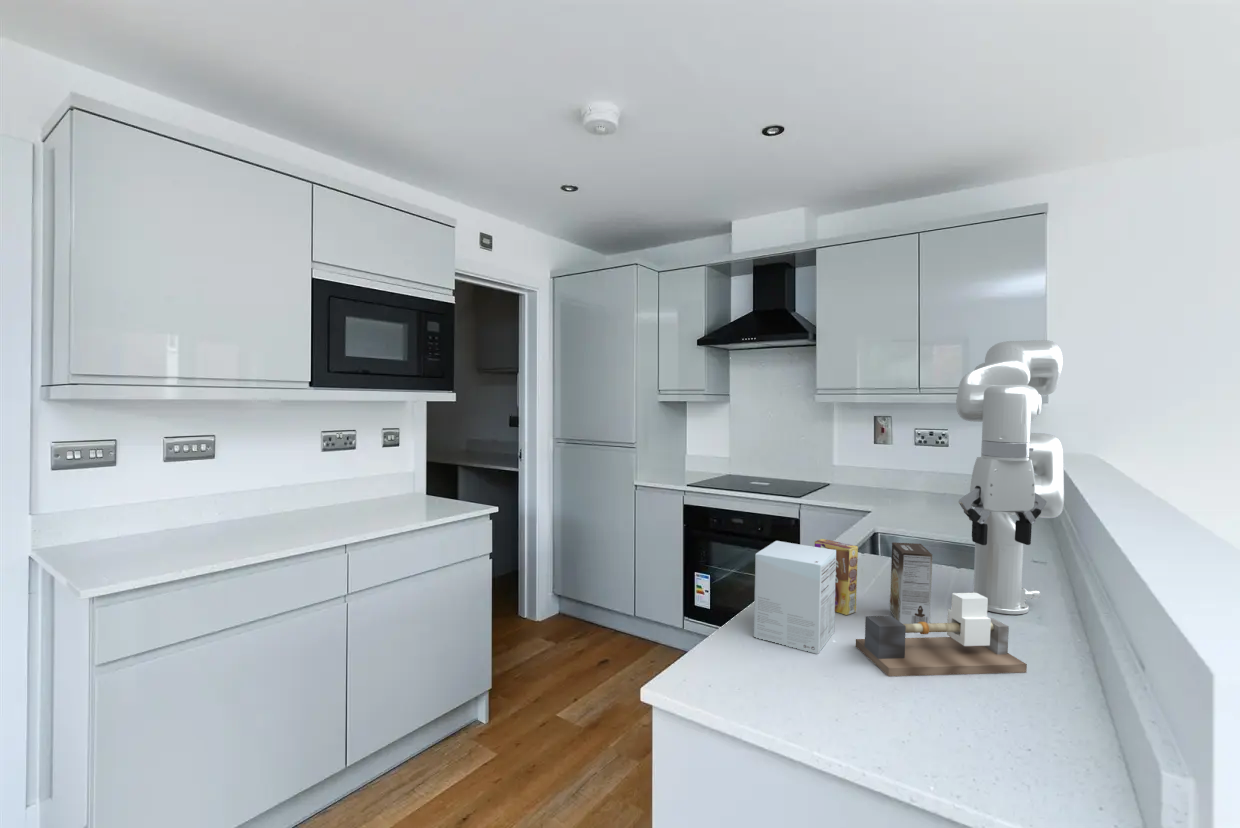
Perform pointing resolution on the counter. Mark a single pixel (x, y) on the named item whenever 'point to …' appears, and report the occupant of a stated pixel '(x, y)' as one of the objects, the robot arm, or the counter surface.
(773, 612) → the supplement box
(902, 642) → the wooden board rod assembly
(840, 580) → the candy box
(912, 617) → the coffee box
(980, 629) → the stepped white block
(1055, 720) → the counter surface
